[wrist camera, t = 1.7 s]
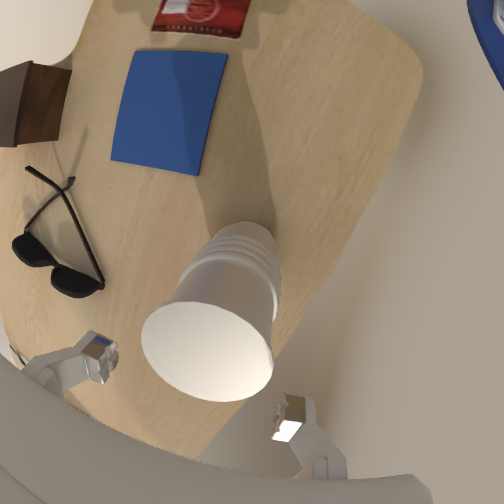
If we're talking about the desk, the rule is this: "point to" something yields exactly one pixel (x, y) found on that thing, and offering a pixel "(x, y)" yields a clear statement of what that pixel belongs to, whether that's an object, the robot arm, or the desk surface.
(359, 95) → the desk surface
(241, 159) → the desk surface
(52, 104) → the box
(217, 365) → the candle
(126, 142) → the cloth
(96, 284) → the sunglasses
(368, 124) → the desk surface
